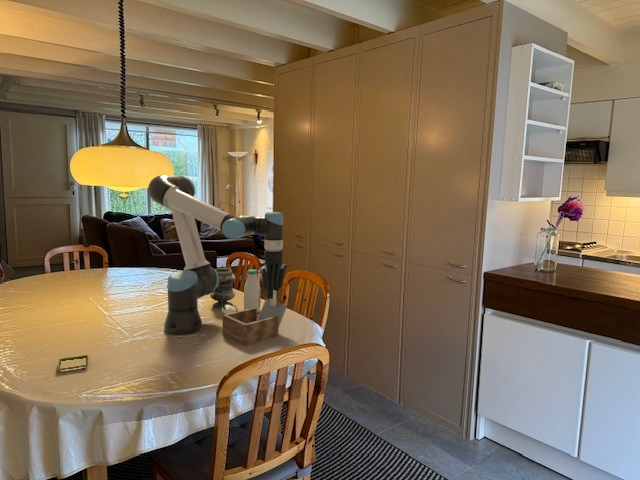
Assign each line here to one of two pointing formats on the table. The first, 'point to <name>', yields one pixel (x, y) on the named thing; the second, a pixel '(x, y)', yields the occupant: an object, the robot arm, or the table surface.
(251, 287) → the milk bottle
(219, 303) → the apothecary jar
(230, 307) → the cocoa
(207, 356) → the table surface
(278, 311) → the panel
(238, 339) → the crate
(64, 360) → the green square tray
